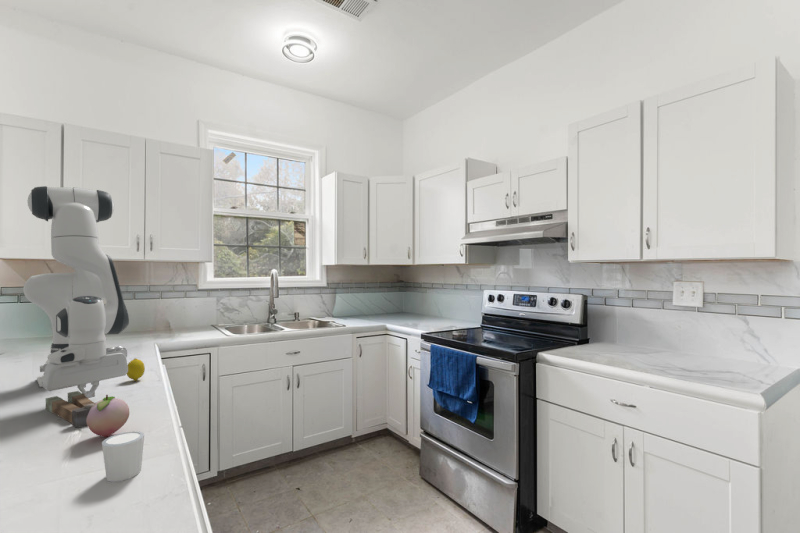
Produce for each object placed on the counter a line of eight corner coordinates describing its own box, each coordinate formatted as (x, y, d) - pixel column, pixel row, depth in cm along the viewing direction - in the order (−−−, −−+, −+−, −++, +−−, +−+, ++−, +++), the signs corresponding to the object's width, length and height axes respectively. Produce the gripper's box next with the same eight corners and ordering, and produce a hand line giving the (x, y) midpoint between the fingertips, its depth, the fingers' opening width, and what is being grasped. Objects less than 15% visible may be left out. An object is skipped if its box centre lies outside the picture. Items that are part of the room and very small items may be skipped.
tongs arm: (97, 416, 109) (96, 404, 109) (85, 418, 107) (85, 407, 107) (78, 401, 122) (78, 390, 122) (67, 403, 120) (67, 392, 120)
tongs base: (43, 409, 116) (43, 393, 116) (71, 403, 121) (70, 387, 121) (77, 428, 102) (76, 409, 102) (106, 419, 107) (106, 402, 107)
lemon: (135, 383, 141) (135, 360, 141) (122, 382, 142) (122, 359, 143) (148, 378, 147) (148, 357, 147) (135, 378, 148) (135, 356, 148)
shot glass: (116, 466, 82) (115, 431, 82) (151, 464, 82) (151, 430, 82) (93, 484, 75) (92, 446, 75) (132, 482, 75) (131, 444, 75)
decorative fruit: (129, 439, 94) (128, 396, 95) (84, 448, 90) (84, 403, 90) (130, 426, 102) (129, 386, 102) (89, 433, 98) (89, 392, 98)
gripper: (122, 344, 130) (122, 386, 130) (40, 356, 113) (41, 405, 113) (131, 346, 127) (132, 390, 127) (48, 359, 110) (49, 410, 110)
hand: (88, 397), depth 120 cm, fingers closed
